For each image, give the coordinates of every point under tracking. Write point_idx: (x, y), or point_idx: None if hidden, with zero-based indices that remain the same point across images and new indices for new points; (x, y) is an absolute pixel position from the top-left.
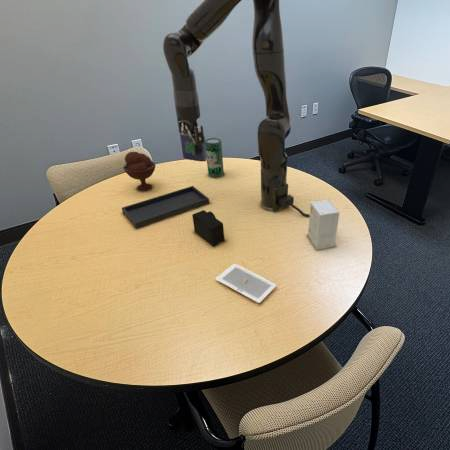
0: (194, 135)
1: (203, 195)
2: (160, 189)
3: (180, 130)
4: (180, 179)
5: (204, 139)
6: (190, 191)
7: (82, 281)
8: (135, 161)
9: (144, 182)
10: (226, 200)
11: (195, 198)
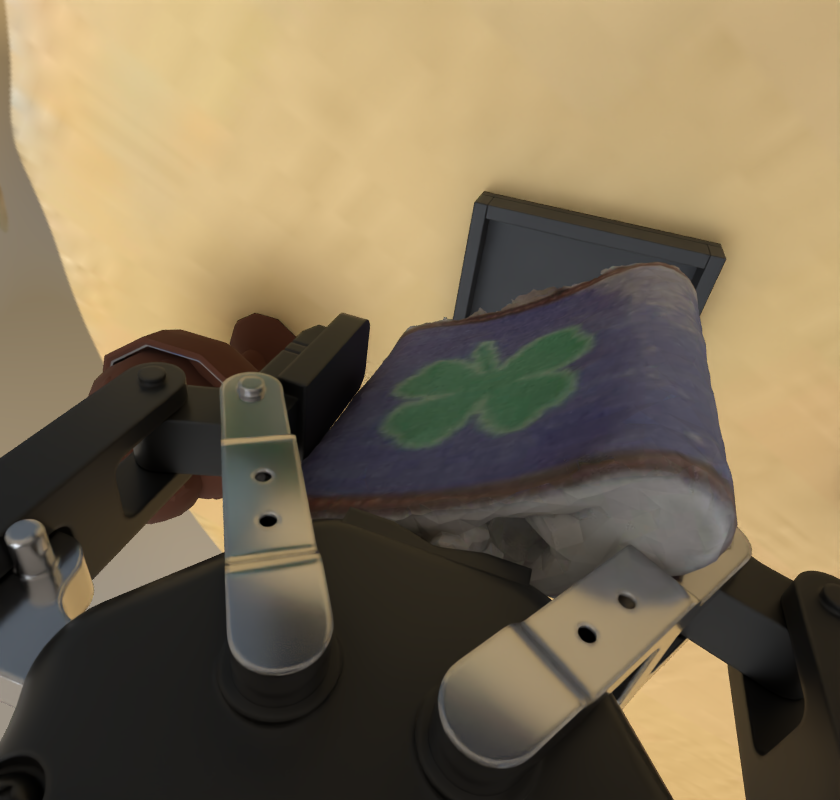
0: (631, 688)
1: (658, 254)
2: (329, 311)
3: (169, 495)
4: (283, 138)
5: (728, 470)
6: (492, 229)
7: (668, 766)
8: (193, 497)
9: (257, 369)
10: (832, 113)
11: (596, 273)
